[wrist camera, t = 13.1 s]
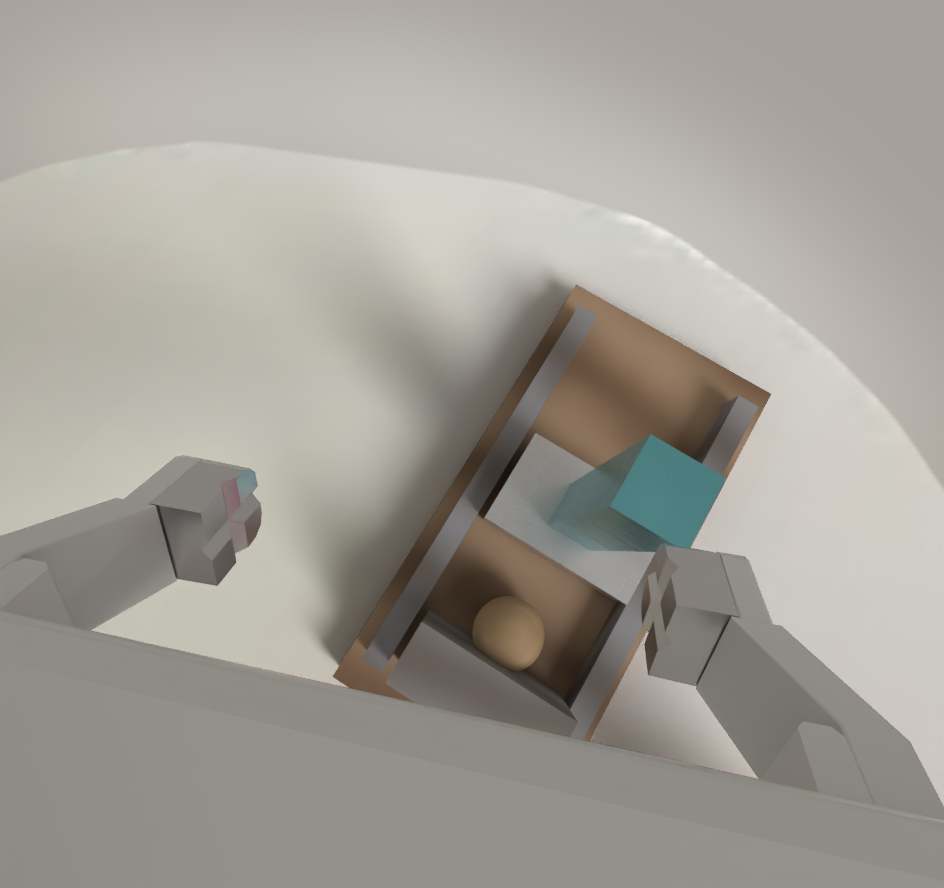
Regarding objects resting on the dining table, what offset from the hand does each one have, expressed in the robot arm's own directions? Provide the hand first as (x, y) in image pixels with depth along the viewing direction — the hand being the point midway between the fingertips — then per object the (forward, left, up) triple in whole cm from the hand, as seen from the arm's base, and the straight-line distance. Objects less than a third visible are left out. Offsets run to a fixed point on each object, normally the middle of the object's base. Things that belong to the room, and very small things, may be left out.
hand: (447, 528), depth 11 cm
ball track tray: (+6, -1, -21) cm, 22 cm away
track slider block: (+6, -1, -19) cm, 20 cm away
